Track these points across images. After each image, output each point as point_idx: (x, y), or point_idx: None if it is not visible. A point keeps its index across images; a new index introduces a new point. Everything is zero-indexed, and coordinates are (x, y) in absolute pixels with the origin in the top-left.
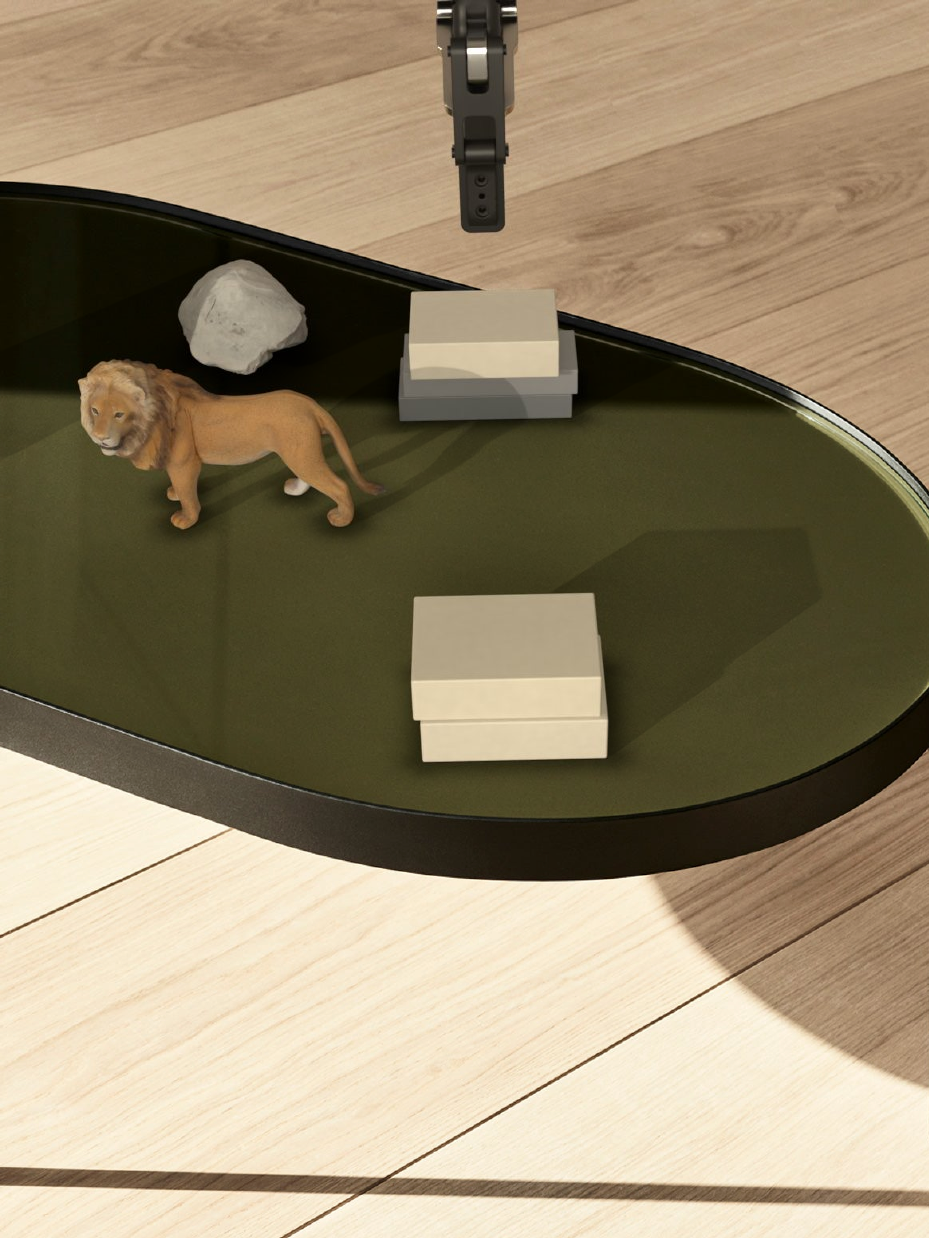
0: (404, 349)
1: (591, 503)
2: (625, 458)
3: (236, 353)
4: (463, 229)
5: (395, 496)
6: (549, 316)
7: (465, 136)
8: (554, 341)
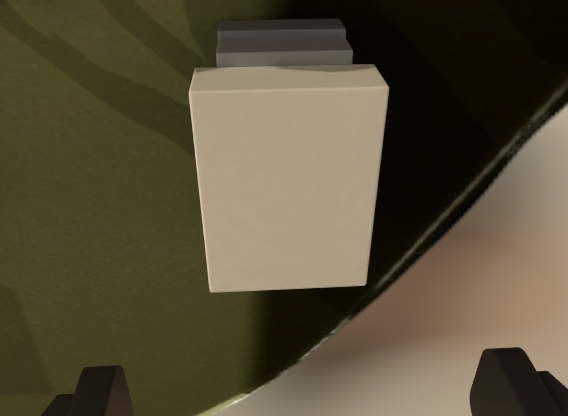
0: (297, 52)
1: (54, 245)
2: (151, 274)
3: None
4: (86, 367)
5: (14, 22)
6: (281, 282)
7: (511, 400)
8: (211, 287)
